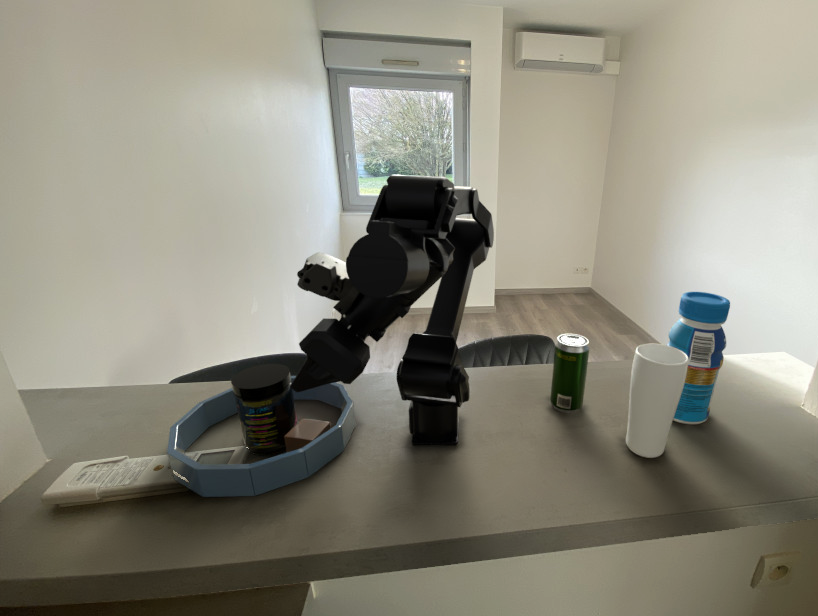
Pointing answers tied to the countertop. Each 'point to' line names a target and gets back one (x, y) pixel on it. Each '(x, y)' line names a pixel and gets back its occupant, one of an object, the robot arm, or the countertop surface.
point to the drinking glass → (654, 397)
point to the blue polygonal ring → (262, 473)
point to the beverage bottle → (699, 351)
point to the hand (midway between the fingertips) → (309, 369)
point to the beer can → (569, 372)
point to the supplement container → (265, 407)
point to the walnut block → (305, 433)
